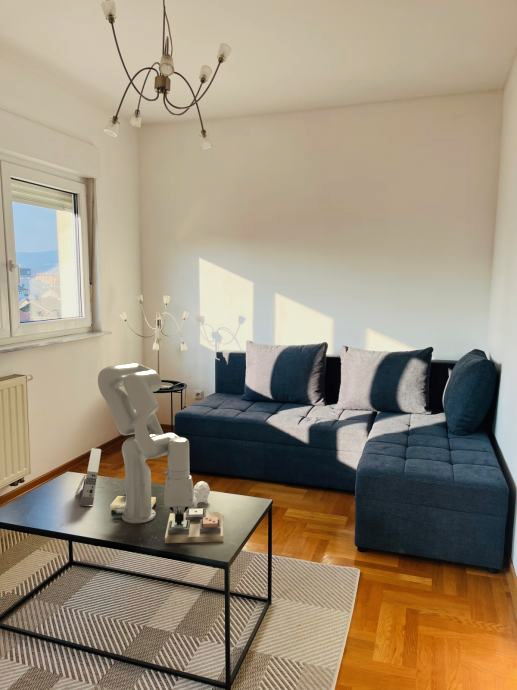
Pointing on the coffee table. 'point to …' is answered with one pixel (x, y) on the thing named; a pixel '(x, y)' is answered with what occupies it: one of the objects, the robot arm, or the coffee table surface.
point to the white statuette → (200, 493)
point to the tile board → (195, 529)
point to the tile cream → (196, 512)
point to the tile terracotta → (210, 522)
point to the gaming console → (90, 478)
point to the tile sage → (174, 525)
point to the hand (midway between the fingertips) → (179, 523)
